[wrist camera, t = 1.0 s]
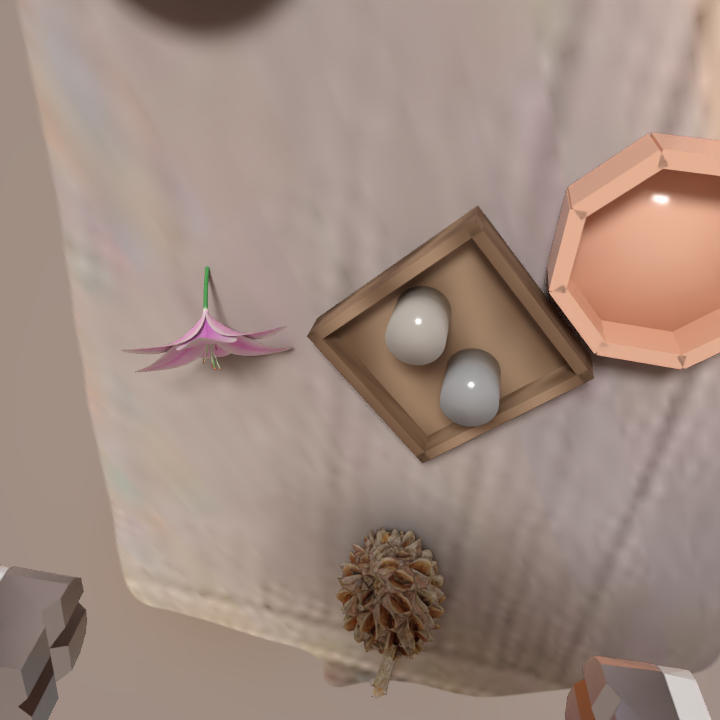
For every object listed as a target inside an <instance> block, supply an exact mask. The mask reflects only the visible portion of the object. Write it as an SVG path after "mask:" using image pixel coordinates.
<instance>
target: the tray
mask: <svg viewBox="0 0 720 720" xmlns="http://www.w3.org/2000/svg"><path fill="white" fill-rule="evenodd" d="M415 286H429V287H432V288H435V289H437V290H439V291H440V292H441V293H443V294H444V295H445V296H446V298H447V299H448V301H449V303H450V306H451V311H452V314H451V320H450V325H449V330H448V335H447V340H446V345H445V348H444V351H443V352H442V354H441V355H440V356H439V357H438V358H437V359H436V360H435V361H433V362H431V363H428V364H425V365H411V364H407V363H404V362H402V361H400V360H399V359H397V358H396V357H395V356H394V355H393V354H392V353H391V352H390V351H389V349H388V347H387V345H386V340H385V333H386V329H387V326H388V324H389V321H390V318H391V316H392V313H393V310H394V307H395V305H396V302H397V300H398V298H399V296H400V295H401V294H402V293H403V292H404V291H405V290H407V289H409V288H411V287H415ZM307 337H308V338H309V339H310V340H311V341H312V342H313V343H314V344H315V346H316V347H317V348H318V349H319V350H320V351H321V352H322V353H323V354H324V355H325V356H326V358H327V359H328V360H329V361H330V362H331V363H332V364H333V365H334V366H335V367H336V369H337V370H338V371H339V372H340V373H341V374H342V375H343V376H344V377H345V378H346V380H347V381H348V382H349V383H350V384H351V385H352V386H353V387H354V388H355V389H356V391H357V392H358V393H359V394H360V395H361V396H362V397H363V398H364V399H365V400H366V402H367V403H368V404H369V405H370V406H371V407H372V408H373V409H374V410H375V411H376V413H377V414H378V415H379V416H380V417H381V418H382V419H383V420H384V421H385V422H386V424H387V425H388V426H389V427H390V428H391V429H392V430H393V431H394V432H395V433H396V435H397V436H398V437H399V438H400V439H401V440H402V441H403V442H404V443H405V444H406V446H407V447H408V448H409V449H410V450H411V451H412V452H413V453H414V454H415V455H416V457H417V458H418V459H419V460H420V461H421V462H422V463H424V462H426V461H428V460H430V459H432V458H434V457H436V456H438V455H440V454H442V453H444V452H446V451H448V450H450V449H452V448H454V447H456V446H458V445H460V444H462V443H464V442H466V441H468V440H470V439H472V438H474V437H476V436H478V435H480V434H482V433H485V432H487V431H489V430H491V429H493V428H495V427H497V426H499V425H501V424H503V423H505V422H507V421H509V420H511V419H513V418H515V417H517V416H519V415H521V414H523V413H525V412H527V411H529V410H531V409H533V408H535V407H537V406H539V405H541V404H543V403H545V402H547V401H549V400H551V399H553V398H555V397H557V396H559V395H561V394H563V393H565V392H567V391H569V390H571V389H573V388H575V387H577V386H579V385H581V384H583V383H585V382H587V381H589V380H591V379H593V378H594V374H593V368H592V361H591V356H590V355H589V354H588V352H587V351H586V350H585V348H584V347H583V346H582V344H581V343H580V342H579V340H578V339H577V338H576V336H575V335H574V334H573V332H572V331H571V330H570V328H569V327H568V325H567V324H566V323H565V321H564V320H563V319H562V317H561V316H560V315H559V313H558V312H557V311H556V309H555V308H554V307H553V305H552V304H551V303H550V301H549V300H548V299H547V297H546V296H545V295H544V293H543V292H542V291H541V289H540V288H539V287H538V285H537V284H536V283H535V281H534V280H533V279H532V277H531V276H530V275H529V273H528V272H527V271H526V269H525V268H524V267H523V265H522V264H521V263H520V261H519V260H518V259H517V257H516V256H515V255H514V253H513V252H512V251H511V249H510V248H509V246H508V245H507V244H506V242H505V241H504V240H503V238H502V237H501V236H500V234H499V233H498V232H497V230H496V229H495V228H494V226H493V225H492V224H491V222H490V221H489V220H488V218H487V217H486V216H485V214H484V213H483V212H482V210H481V209H480V208H479V206H477V207H475V208H474V209H472V210H471V211H470V212H468V213H467V214H465V215H464V216H462V217H461V218H460V219H458V220H457V221H455V222H454V223H452V224H451V225H450V226H448V227H447V228H445V229H444V230H442V231H441V232H440V233H438V234H437V235H435V236H434V237H432V238H431V239H430V240H428V241H427V242H425V243H424V244H423V245H421V246H420V247H418V248H417V249H415V250H414V251H413V252H411V253H410V254H408V255H407V256H405V257H404V258H403V259H401V260H400V261H398V262H397V263H395V264H394V265H393V266H391V267H390V268H388V269H387V270H385V271H384V272H383V273H381V274H380V275H378V276H377V277H375V278H374V279H373V280H371V281H370V282H368V283H367V284H366V285H364V286H363V287H361V288H360V289H358V290H357V291H356V292H354V293H353V294H351V295H350V296H348V297H347V298H346V299H344V300H343V301H341V302H340V303H338V304H337V305H336V306H334V307H333V308H331V309H330V310H328V311H327V312H326V313H324V314H323V315H321V316H320V317H318V318H317V320H316V322H315V323H314V325H313V327H312V329H311V330H310V332H309V334H308V336H307ZM468 348H476V349H481V350H484V351H486V352H488V353H490V354H491V355H492V356H494V357H495V359H496V360H497V361H498V363H499V365H500V369H501V380H500V396H499V408H498V412H497V414H496V415H495V417H494V418H493V419H492V420H490V421H489V422H487V423H486V424H483V425H480V426H474V427H468V426H462V425H459V424H456V423H454V422H453V421H451V420H450V419H448V418H447V417H446V416H445V414H444V413H443V411H442V409H441V407H440V395H441V390H442V385H443V379H444V374H445V369H446V365H447V362H448V360H449V359H450V357H451V356H452V355H453V354H455V353H456V352H458V351H460V350H463V349H468Z"/></svg>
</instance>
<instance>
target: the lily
mask: <svg viewBox="0 0 720 720" xmlns="http://www.w3.org/2000/svg"><path fill="white" fill-rule="evenodd" d="M208 279H209V267H205V279H204V304H203V315H202V317H201V318H200V320H199V321H198V322H197V324H196V325H195V326H194V327H193V328H192V329H191V330H190V331H189V332H188V333H187V334H185V335H184V336H183V337H182V338H180V339H179V340H177V341H175V342H174V343H171V344H168V345H165V346H160V347H152V348H142V349H128V350H121V351H123V352H128V353H135V354H159V353H163V352H166V353H165V354H164V355H163V356H162V357H161V358H159V359H158V360H157V361H156V362H155V363H153V364H152V365H150V366H149V367H146V368H144V369H141V370H138V371H135V372H148V371H158V370H165V369H171V368H176V367H180V366H183V365H187V364H189V363H191V362H193V361H195V360H196V359H197V358H205V359H204V360H203V364H204V361H205V360H206V358H212V367H213V365H214V370H216V369H217V368H216V366H215V362H214V358H216V357H223V356H226V355H229V354H231V353H233V354H236V355H243V356H258V355H265V354H272V353H277V352H282V351H286V350H290V349H293V348H274V347H269V346H266V345H263V344H260V343H257V342H255V341H253V340H250V339H248V338H251V339H262V338H266V337H269V336H271V335H274V334H276V333H278V332H280V331H282V330H284V329H285V328H286V326H285V327H280V328H276V329H271V330H267V331H262V332H256V333H249V334H247V333H239V332H236V331H234V330H232V329H230V328H228V327H226V326H224V325H223V324H221V323H220V322H218V321H216V320H215V319H214V318H212V317H211V316H210V315H209V313H208ZM241 335H242V336H241ZM243 336H244V337H243ZM246 337H247V338H246ZM216 361H217V359H216ZM217 364H218V362H217ZM218 366H219V364H218ZM219 368H220V370H221V371H222V369H221V367H220V366H219Z"/></svg>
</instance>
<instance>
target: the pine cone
mask: <svg viewBox="0 0 720 720" xmlns="http://www.w3.org/2000/svg"><path fill="white" fill-rule="evenodd" d="M364 541H365V547H364V548H362V547H360V546H359V545H354V544H352V546H353V548H354V549H355V551H356V553H355V554H354V553H353V552H352V551H350V555H349V557H350V560H351V562H350V563H341V564H339V566H340V567H341V569H342V571H343V573H344V574H343V576H342V577H343V578H338V580H339V582H340V584H341V585H342V589H340V590H339V591H338V592H337V593H336V596H337V599H338V600H340V601H341V602H343V608H342V609H341V610H342V611H343V613H344V614H346V616H345V618H344V621H345V624H344V626H343V628H344V629H346V630H347V631H352V630H354V639H355V640H356V641H357V642H358V643H360V642H362V641H364V647H365V650H367V651H366V652H368V651H371V650H373V649H374V650H378V651H379V653H381V654H383V655H384V658H383V662H382V664H381V667H380V669H379V671H378V674H377V676H376V677H375V678H374V679H371V680H370V684H371V686H374V695H373V696H374V697H375V698H376V699H377V698H379V697H381V696H382V695H386V694H387V688H388V683H389V680H390V676H391V673H392V669H393V666H394V664H395V660H397V659H399V658H400V657H404V658H411V659H413V654H418V653H419V652H421V651H424V643H423V641H424V642H428V641H434V640H433V636H432V635H431V633H430V631H429V630H430V629H432V630H434V629H440V627H441V625H439V624H438V622H437V621H436V620H435V619H436V618H439V617H440V616H441V615H442V614H443V613H445V610H444V609H443V608H442V607H441V606H440V605H439V604H441V603H442V602H443V601H444V600H445V599H446V596H445V595H444V593H443V592H442V591H441V590H440V588H441V587H442V585H443V580H444V577H442V575H437V572H438V565H437V561H432V558H433V555H432V553H431V550H430V549H428V550H421V538H420V539H418V540H417V541H415V535H414V533H413V532H412V531H408V532H407V533H406V534H405V535H404V533H403V532H402V531H401V532H400V534H399V532H398V531H397V530H396V529H395V528H394V530H393V531H392V533H391V532H386V531H385V529H384V527H382V528H381V530H380V531H379V530H377V534H376V535H375V533H374V532H372V531H370V530H369V537H368V536H367V534H366V536H365V537H364ZM424 652H425V651H424Z"/></svg>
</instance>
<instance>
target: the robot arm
mask: <svg viewBox="0 0 720 720" xmlns="http://www.w3.org/2000/svg"><path fill="white" fill-rule="evenodd" d="M82 593H83V585H82V580H81V578H79V577H74V576H68V575H62V574H56V573H50V572H44V571H38V570H32V569H27V568H21V567H16V566H10V565H4V564H0V720H48V719H49V716H50V714H51V712H52V710H53V708H54V706H55V704H56V702H57V700H58V693H57V687H56V682H57V681H58V680H60V679H61V678H62V677H64V676H65V675H66V674H68V673H69V672H70V671H72V669H73V667H74V665H75V662H76V660H77V658H78V656H79V654H80V651H81V647H82V644H83V641H84V637H85V634H86V625H87V614H86V609H85V608H84V607H83V606H82V605H81V604H80V603H79V602H78V601H79V600H80V597H81V595H82ZM582 669H583V673H584V678H585V679H583V680H581V681H579V682H577V683H575V684H573V686H572V688H571V690H570V692H569V695H568V697H567V703H566V712H565V719H566V720H712V719H711V717H710V714H709V712H708V709H707V707H706V704H705V702H704V699H703V697H702V694H701V692H700V689H699V687H698V684H697V682H696V680H695V677H694V676H693V675H692V674H691V673H690V671H689V670H685V669H681V668H674V667H666V666H658V665H654V664H652V663H645V662H638V661H631V660H623V659H616V658H609V657H601V656H592V657H590V658H588V659H587V661H586V662H585V664H584V666H583V668H582Z"/></svg>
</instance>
